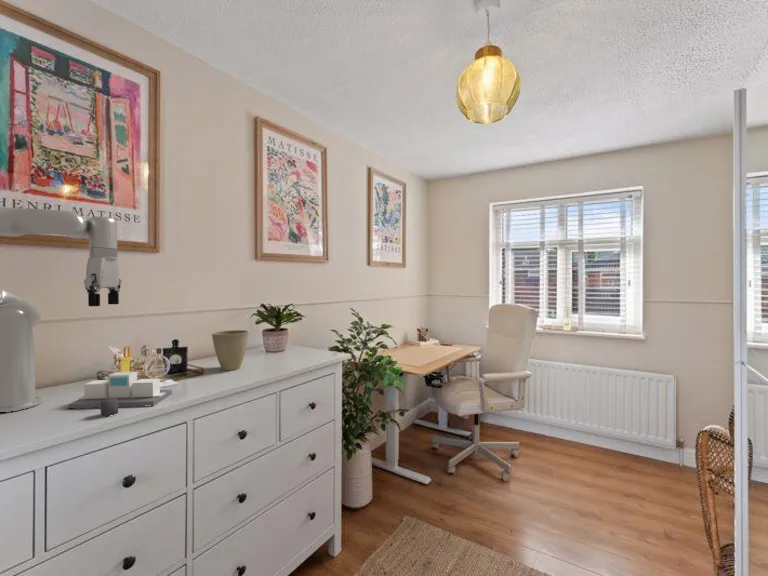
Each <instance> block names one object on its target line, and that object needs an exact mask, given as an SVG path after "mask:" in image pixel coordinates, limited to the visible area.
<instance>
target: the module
mask: <svg viewBox="0 0 768 576" xmlns="http://www.w3.org/2000/svg"><path fill="white" fill-rule="evenodd" d="M108 380H109V398H122V397H131V396H133V387H132V383H134V382H136V381H138V371H116V372H114V373H112V374H109V375H108Z"/></svg>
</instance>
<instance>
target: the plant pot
mask: <svg viewBox="0 0 768 576" xmlns="http://www.w3.org/2000/svg"><path fill="white" fill-rule="evenodd" d="M249 332H250V331H249V330H244V329H236V330H235V329H231V330H222V331H220V330H219V331H215V332H212V333H211V336H212V343H213V348H214V352H215V355H216V358H217V361H218V363H219V365H220V368H221V370H222V371H234V370H239V369H241V367H242V363H243V361H244V357H245V354H246V351H247V346H248V342H249V341H248V340H249Z"/></svg>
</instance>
